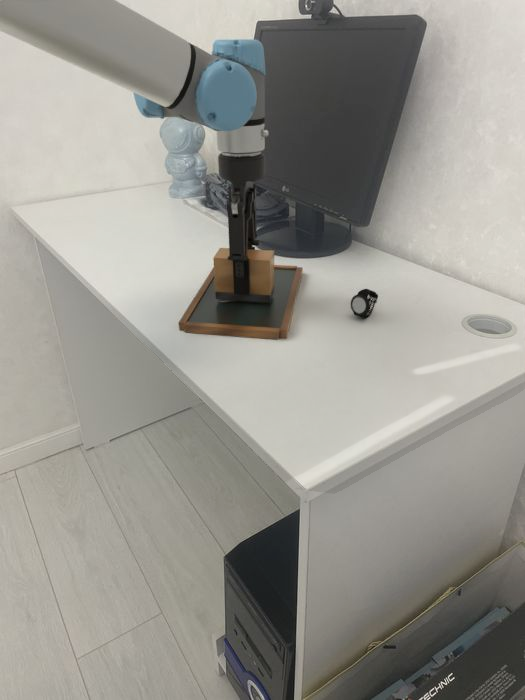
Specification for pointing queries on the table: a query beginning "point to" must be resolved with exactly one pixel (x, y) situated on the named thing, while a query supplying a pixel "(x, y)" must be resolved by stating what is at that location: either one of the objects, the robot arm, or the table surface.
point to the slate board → (245, 309)
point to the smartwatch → (363, 303)
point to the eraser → (258, 276)
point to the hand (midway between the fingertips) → (245, 286)
